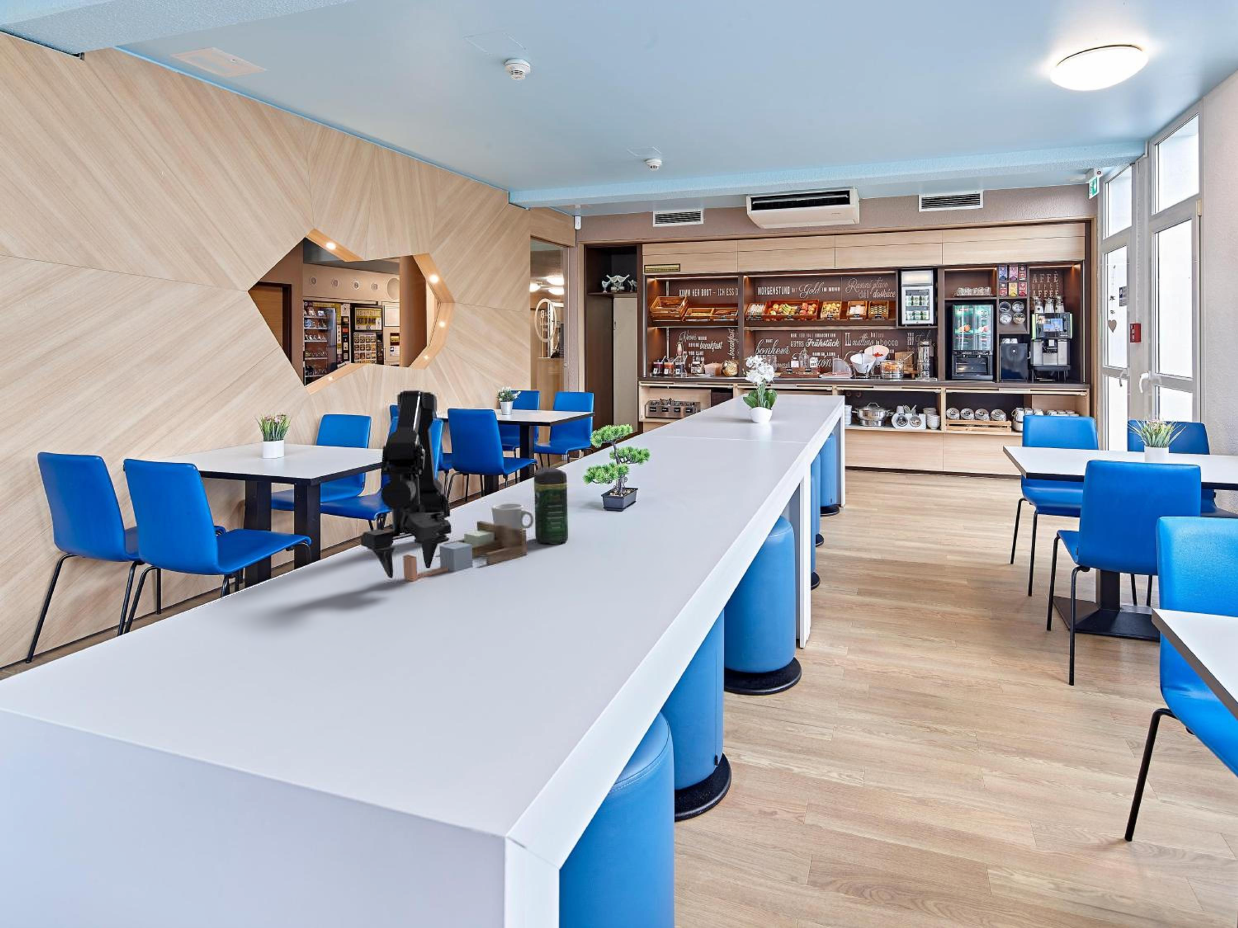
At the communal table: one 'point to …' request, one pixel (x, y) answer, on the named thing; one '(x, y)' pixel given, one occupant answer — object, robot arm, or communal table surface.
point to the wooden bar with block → (442, 560)
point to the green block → (478, 537)
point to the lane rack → (500, 543)
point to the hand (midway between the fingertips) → (409, 572)
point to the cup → (511, 515)
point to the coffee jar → (550, 505)
